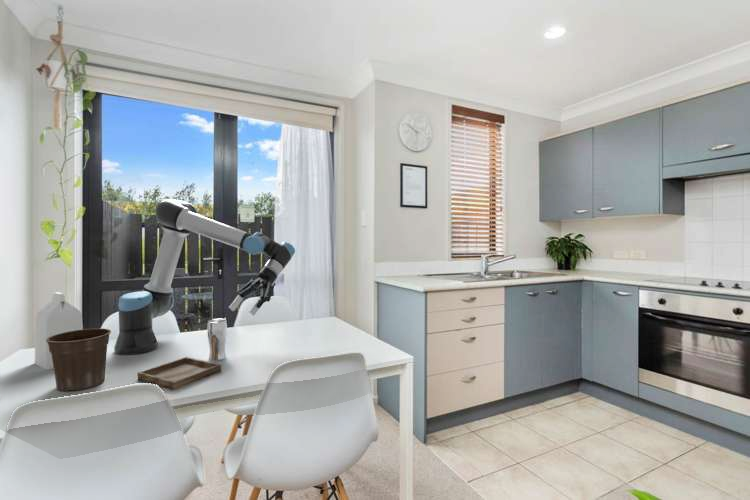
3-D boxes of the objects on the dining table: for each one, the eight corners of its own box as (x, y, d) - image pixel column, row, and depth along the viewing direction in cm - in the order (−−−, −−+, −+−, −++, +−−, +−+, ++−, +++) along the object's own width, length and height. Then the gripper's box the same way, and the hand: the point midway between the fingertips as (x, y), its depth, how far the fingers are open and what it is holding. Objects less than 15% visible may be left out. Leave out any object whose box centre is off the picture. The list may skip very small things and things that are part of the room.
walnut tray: (137, 380, 122) (137, 372, 122) (186, 363, 139) (186, 356, 138) (174, 390, 115) (174, 382, 114) (221, 371, 131) (221, 364, 131)
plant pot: (34, 389, 114) (33, 338, 114) (91, 372, 129) (90, 326, 129) (68, 398, 108) (67, 344, 108) (123, 378, 124) (122, 330, 123)
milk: (85, 360, 141) (84, 292, 140) (46, 369, 131) (44, 296, 130) (72, 354, 147) (71, 289, 146) (34, 363, 137) (32, 293, 136)
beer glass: (220, 362, 140) (219, 323, 139) (203, 361, 141) (203, 322, 141) (230, 356, 147) (230, 319, 146) (215, 355, 148) (214, 318, 148)
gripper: (294, 279, 158) (266, 321, 147) (257, 275, 173) (229, 312, 161) (284, 268, 154) (254, 309, 142) (247, 264, 168) (217, 302, 157)
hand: (240, 311), depth 152 cm, fingers open, 13 cm apart
